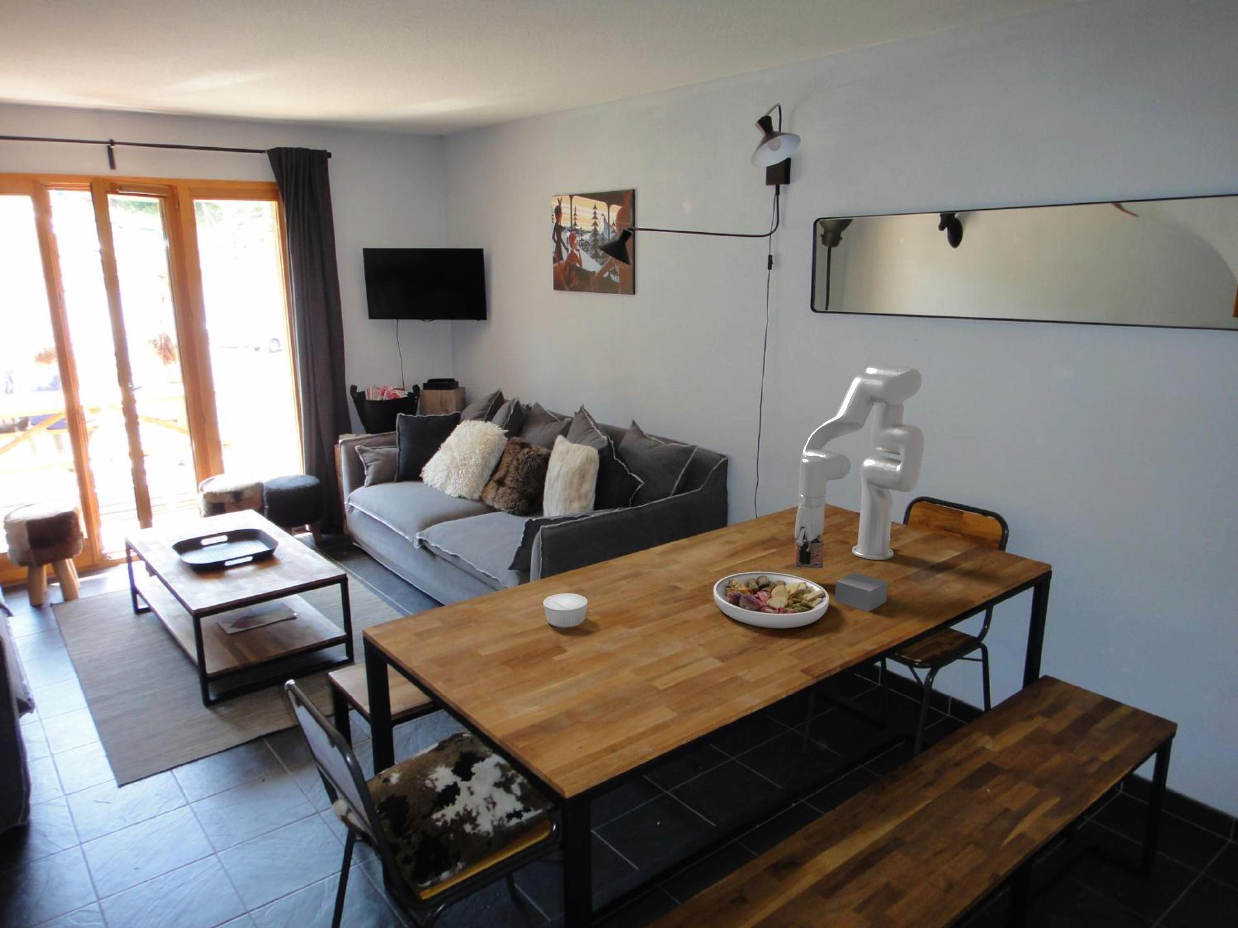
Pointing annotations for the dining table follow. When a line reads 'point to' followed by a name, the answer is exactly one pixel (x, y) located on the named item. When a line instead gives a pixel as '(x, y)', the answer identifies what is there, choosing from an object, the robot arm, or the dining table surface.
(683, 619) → the dining table surface
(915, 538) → the dining table surface
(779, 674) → the dining table surface
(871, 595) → the gray block
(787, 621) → the bowl
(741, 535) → the dining table surface
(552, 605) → the ramekin
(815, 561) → the lighter
